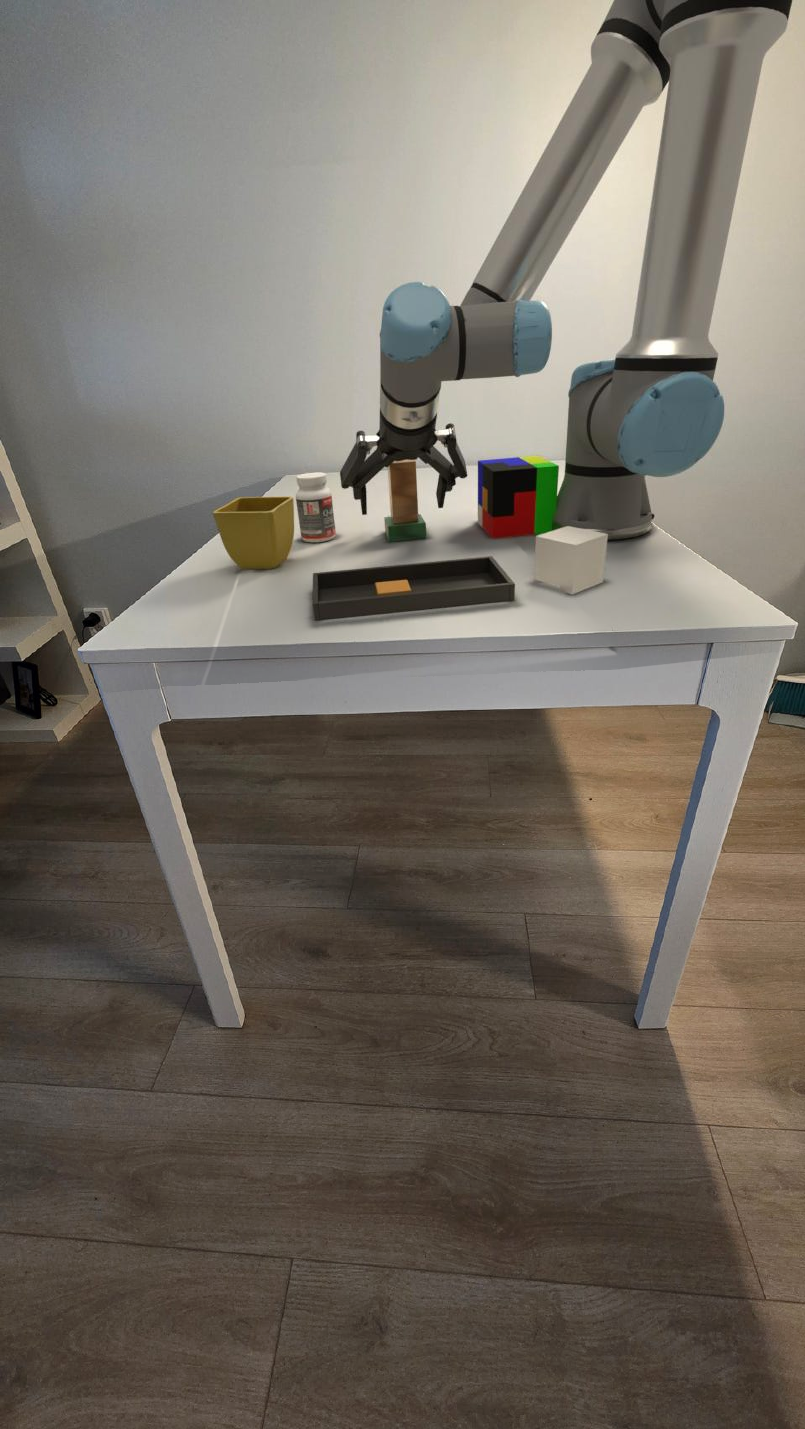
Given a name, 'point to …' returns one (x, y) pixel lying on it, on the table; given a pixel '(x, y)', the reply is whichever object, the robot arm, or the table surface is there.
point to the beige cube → (570, 558)
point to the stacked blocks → (404, 503)
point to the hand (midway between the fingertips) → (401, 504)
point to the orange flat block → (392, 587)
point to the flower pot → (257, 530)
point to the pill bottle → (315, 508)
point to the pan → (427, 583)
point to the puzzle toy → (517, 496)
